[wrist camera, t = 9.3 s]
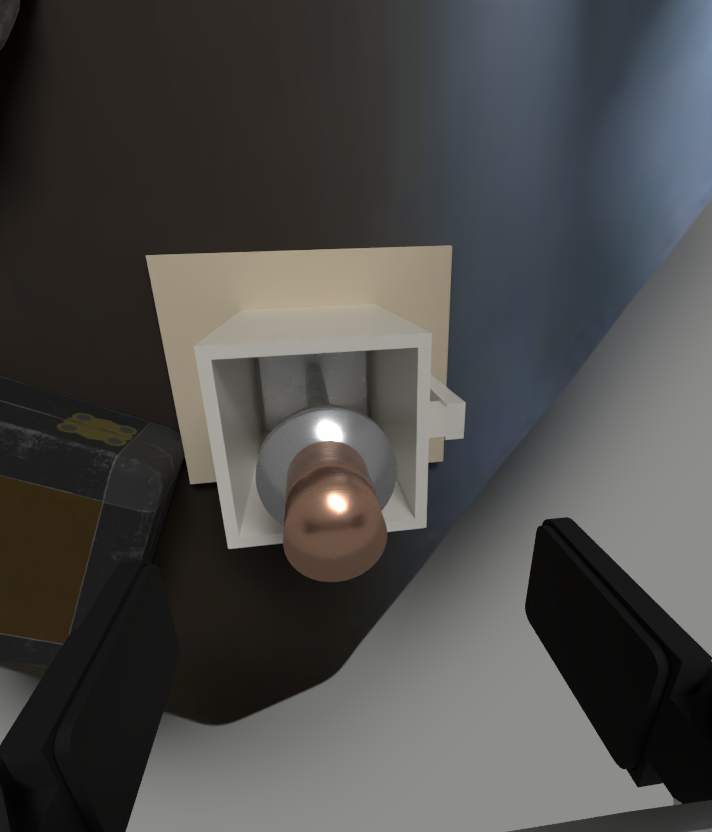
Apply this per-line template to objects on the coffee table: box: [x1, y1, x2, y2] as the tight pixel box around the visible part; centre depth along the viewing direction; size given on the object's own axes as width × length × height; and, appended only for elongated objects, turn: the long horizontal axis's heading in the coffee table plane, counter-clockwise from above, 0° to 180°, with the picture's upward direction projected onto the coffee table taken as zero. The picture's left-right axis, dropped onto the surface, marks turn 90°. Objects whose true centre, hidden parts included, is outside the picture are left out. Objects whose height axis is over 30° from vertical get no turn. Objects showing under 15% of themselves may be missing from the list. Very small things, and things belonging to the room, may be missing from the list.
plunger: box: [255, 351, 397, 582], centre depth 22 cm, size 8×8×21 cm
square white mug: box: [146, 245, 466, 549], centre depth 27 cm, size 22×18×16 cm
